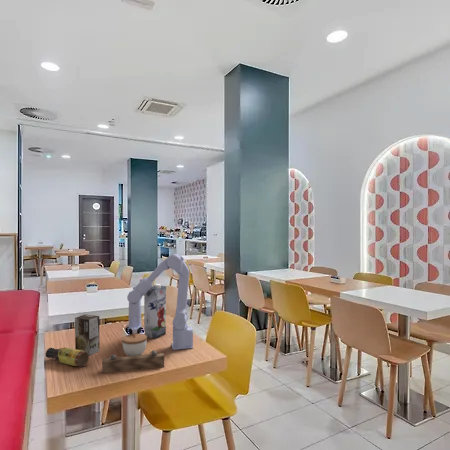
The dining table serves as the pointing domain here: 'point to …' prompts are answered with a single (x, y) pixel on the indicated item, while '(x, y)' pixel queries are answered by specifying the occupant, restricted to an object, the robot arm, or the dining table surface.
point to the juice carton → (155, 311)
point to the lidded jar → (134, 344)
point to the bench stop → (132, 362)
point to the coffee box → (87, 333)
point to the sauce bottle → (68, 356)
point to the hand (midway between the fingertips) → (135, 343)
